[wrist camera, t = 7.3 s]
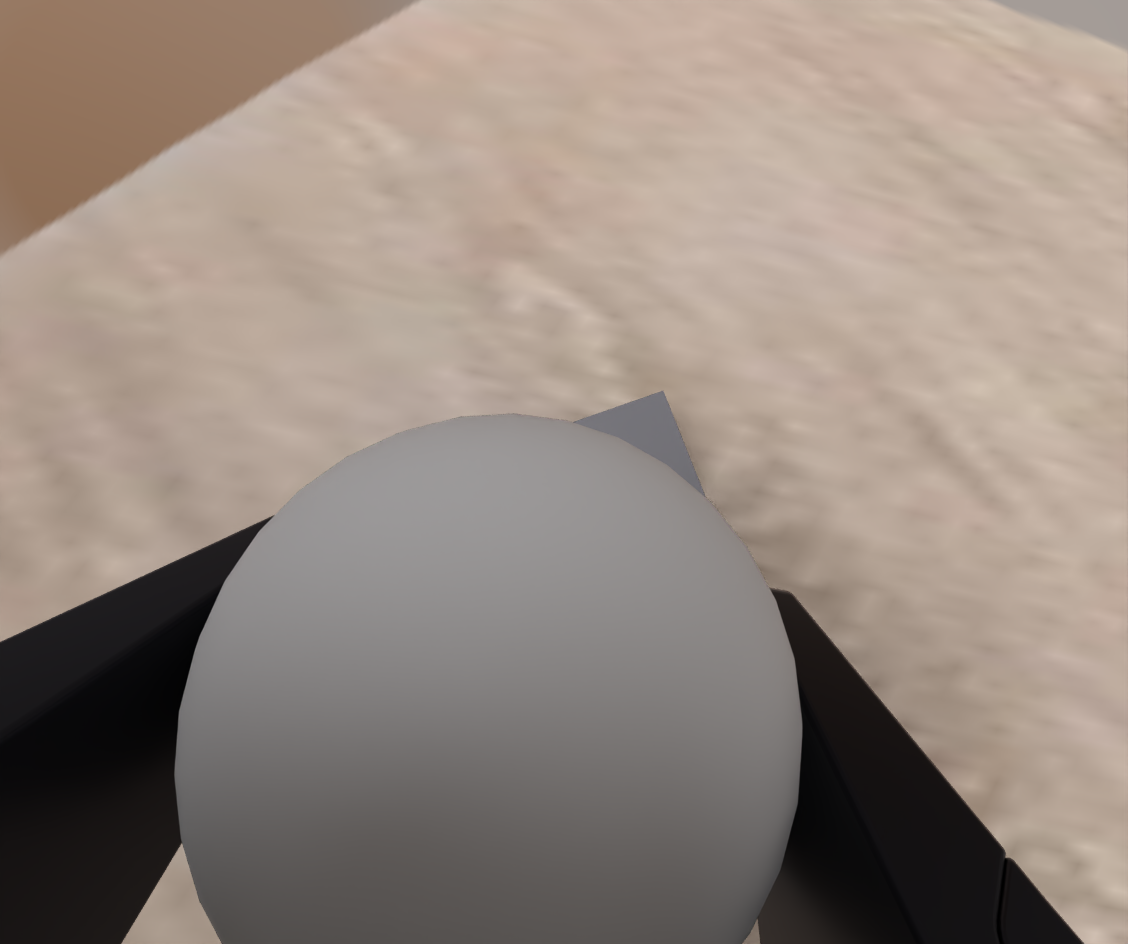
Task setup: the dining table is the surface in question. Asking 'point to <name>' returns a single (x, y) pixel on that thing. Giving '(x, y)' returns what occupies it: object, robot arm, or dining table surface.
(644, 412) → the grey square pan
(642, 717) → the lightbulb
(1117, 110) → the dining table surface
